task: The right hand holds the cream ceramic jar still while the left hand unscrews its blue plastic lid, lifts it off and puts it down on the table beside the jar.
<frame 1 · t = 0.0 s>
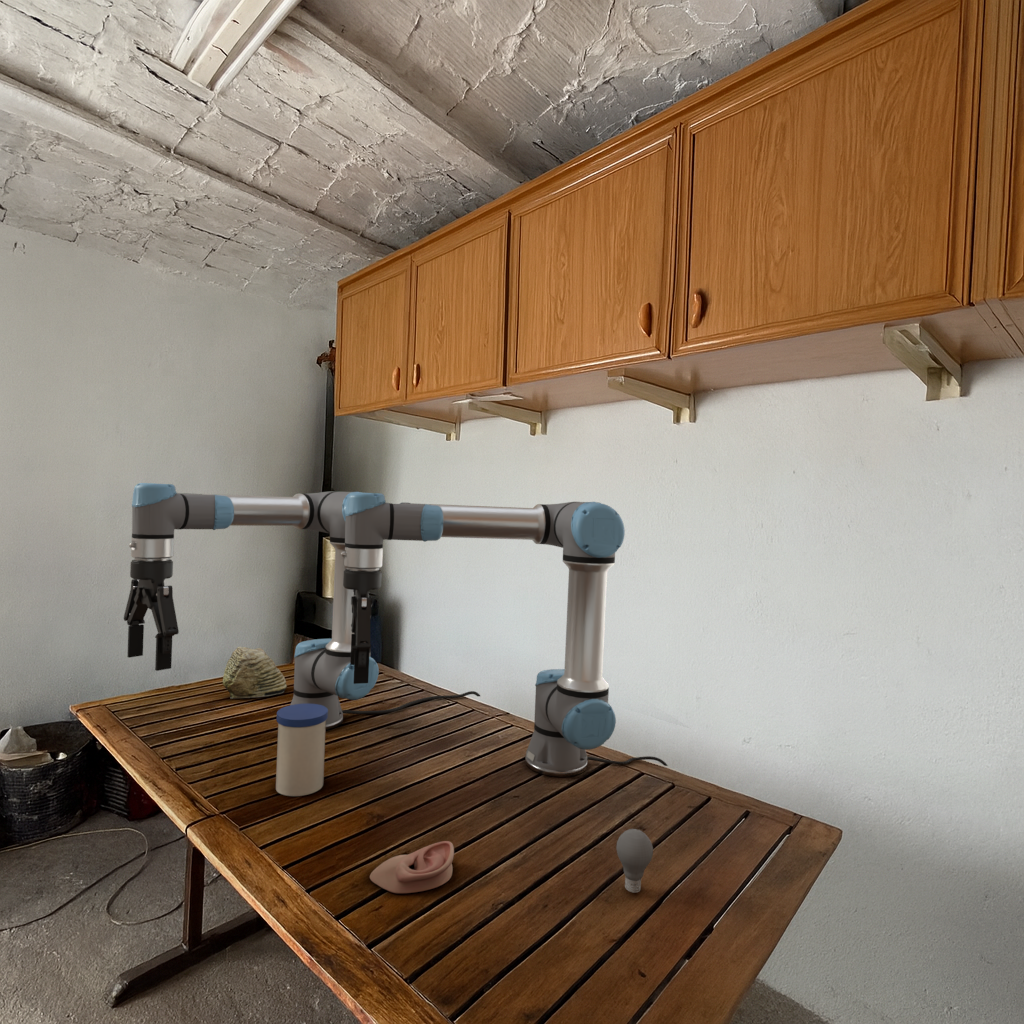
left hand: (148, 662, 129), 28 cm above the table, tool pointing down, fingers open, 13 cm apart
right hand: (358, 673, 128), 28 cm above the table, tool pointing down, fingers open, 13 cm apart
lid: (302, 712, 138), point 16 cm above the table, screwed on, not yet turned
light bulb: (632, 891, 106), on the table
fossil: (254, 694, 198), on the table
jar: (299, 785, 138), on the table
anatomical model: (412, 875, 107), on the table
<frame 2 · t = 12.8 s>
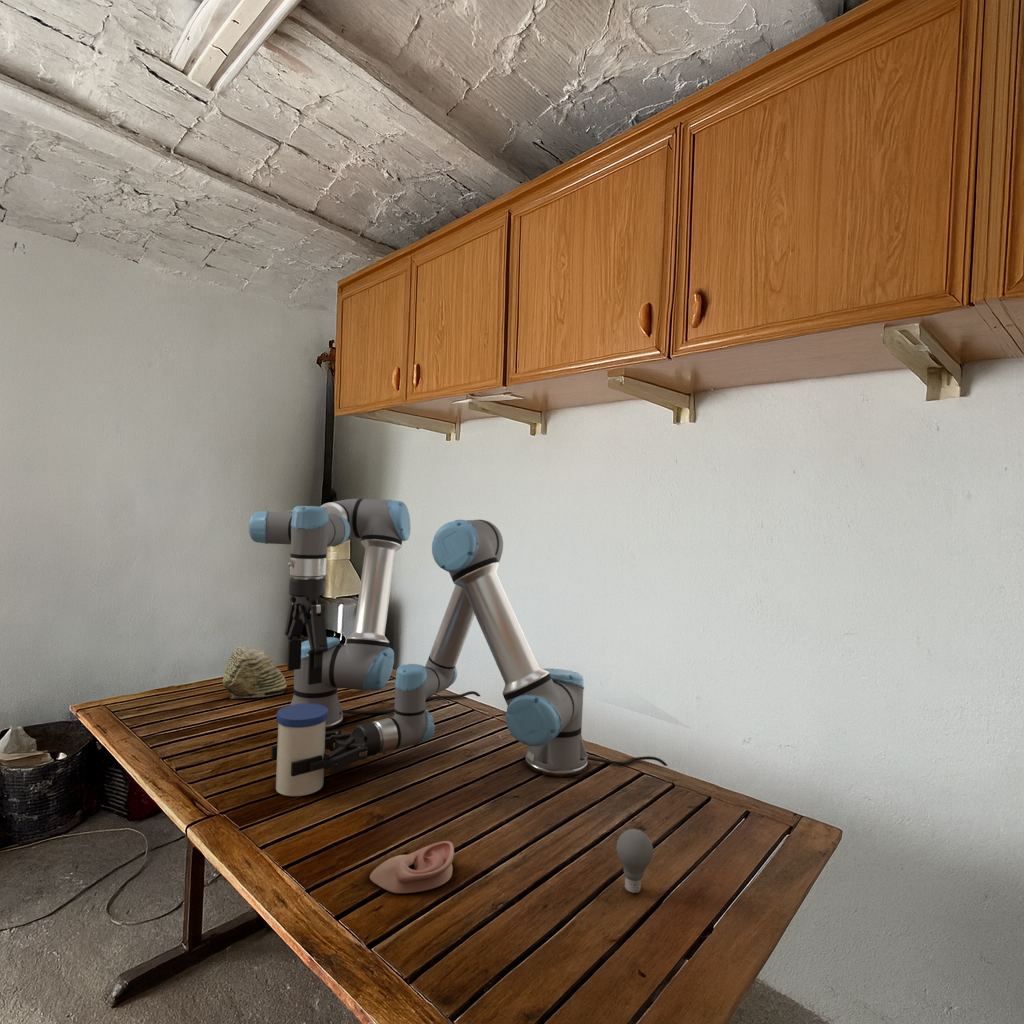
left hand: (304, 676, 138), 24 cm above the table, tool pointing down, fingers open, 12 cm apart
right hand: (281, 760, 135), 6 cm above the table, tool horizontal, fingers closed on jar, 10 cm apart
jar: (299, 785, 138), on the table, touching right hand
everything else where it was.
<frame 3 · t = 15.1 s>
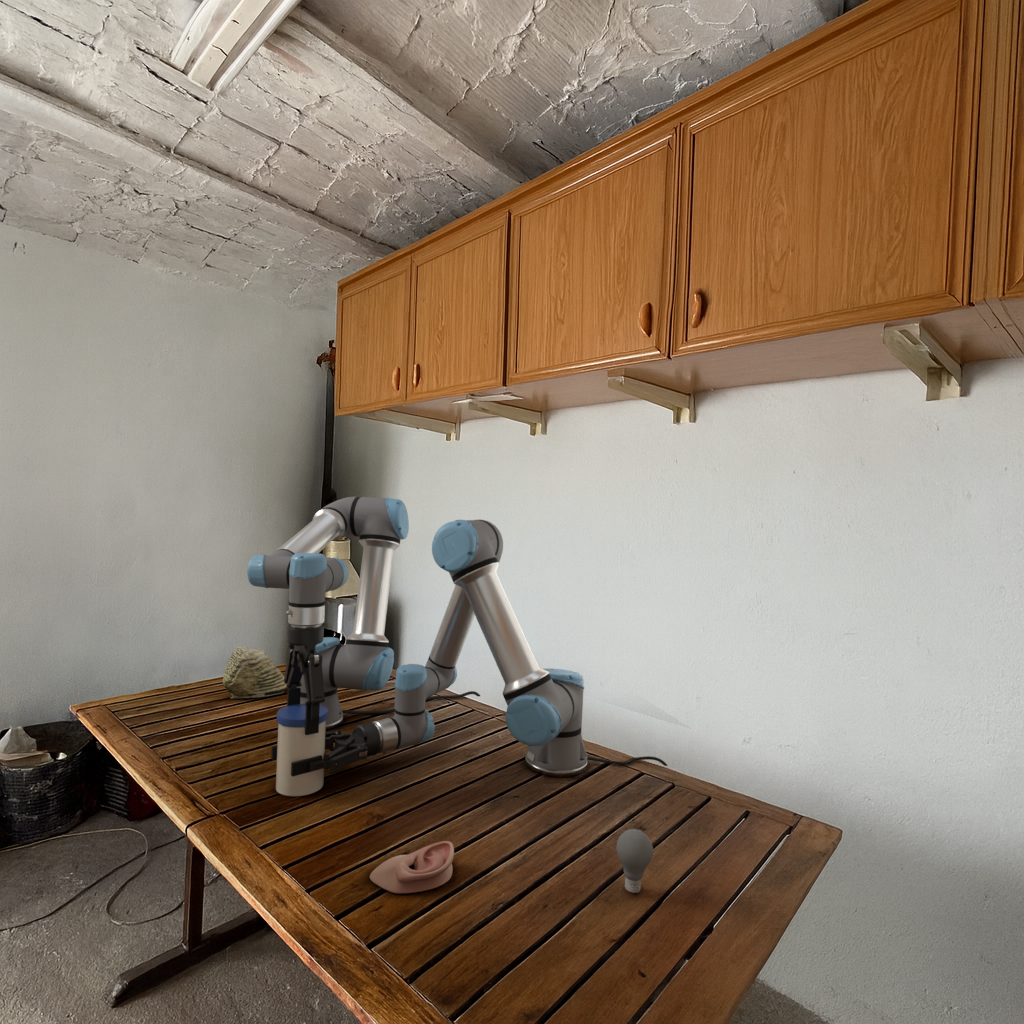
left hand: (302, 725, 138), 13 cm above the table, tool pointing down, fingers closed on lid, 11 cm apart
right hand: (281, 761, 135), 6 cm above the table, tool horizontal, fingers closed on jar, 10 cm apart
lid: (302, 712, 138), point 16 cm above the table, screwed on, not yet turned, touching left hand
jar: (299, 785, 138), on the table, touching right hand
everything else where it was.
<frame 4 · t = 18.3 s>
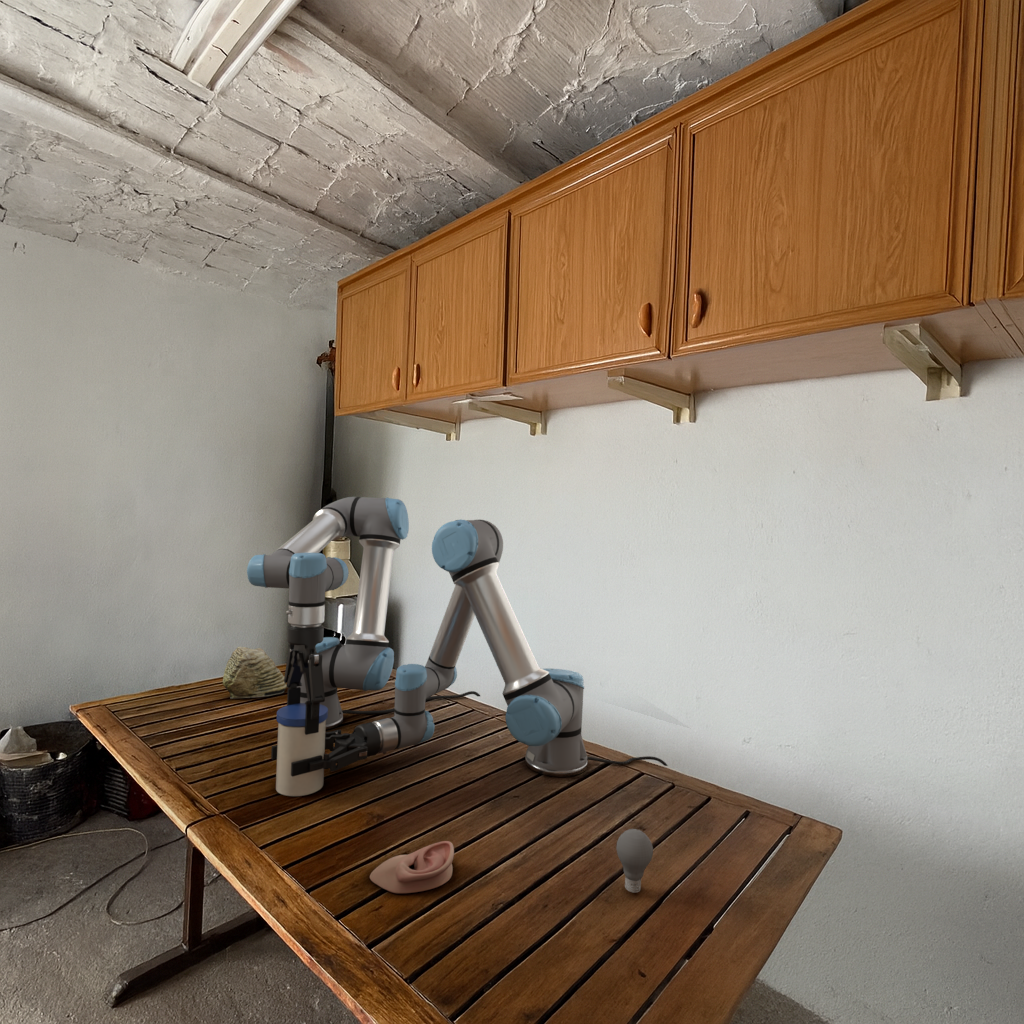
left hand: (302, 724, 138), 13 cm above the table, tool pointing down, fingers closed on lid, 11 cm apart
right hand: (281, 761, 135), 6 cm above the table, tool horizontal, fingers closed on jar, 10 cm apart
lid: (302, 712, 138), point 16 cm above the table, turned 93° so far, risen 0.1 cm, still on its thread, touching left hand
jar: (299, 785, 138), on the table, touching right hand
everything else where it was.
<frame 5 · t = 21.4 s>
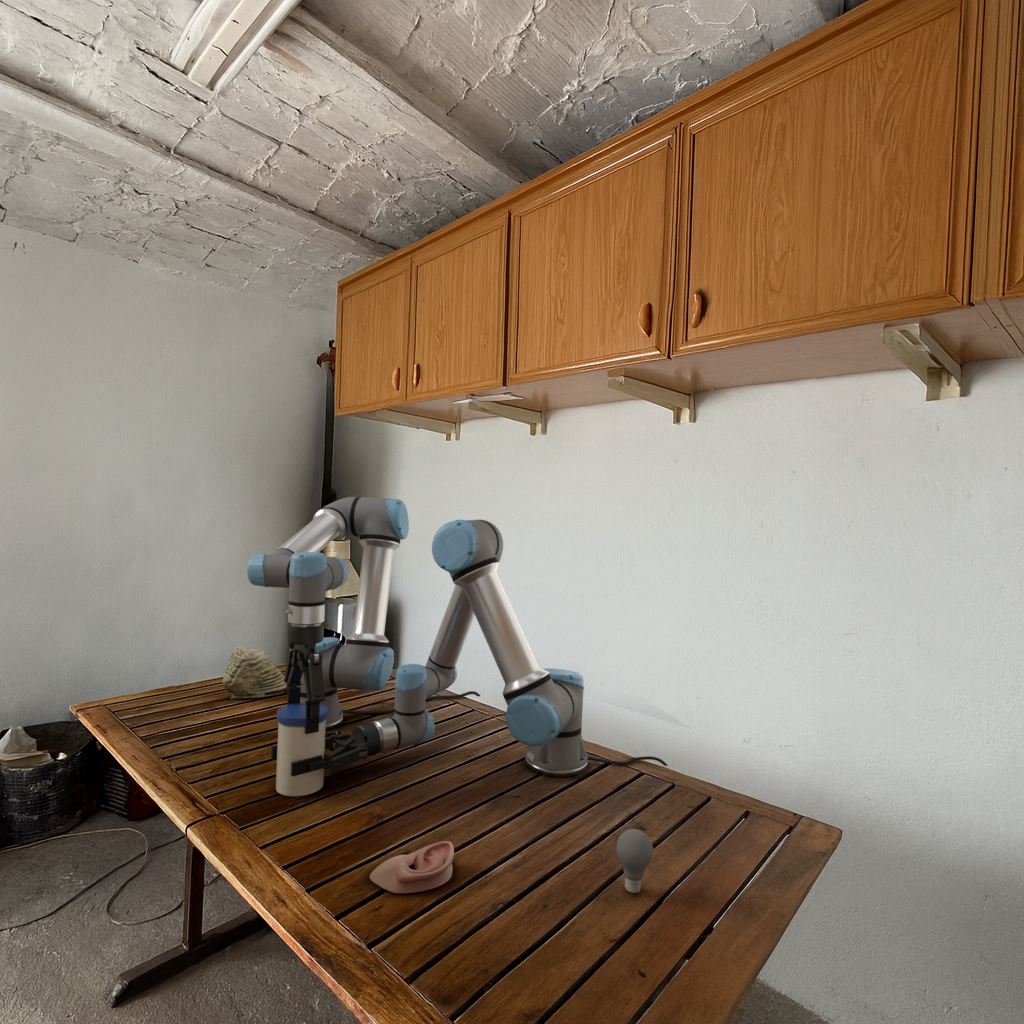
left hand: (302, 724, 138), 14 cm above the table, tool pointing down, fingers closed on lid, 11 cm apart
right hand: (281, 761, 135), 6 cm above the table, tool horizontal, fingers closed on jar, 10 cm apart
lid: (302, 711, 138), point 16 cm above the table, turned 187° so far, risen 0.2 cm, still on its thread, touching left hand
jar: (299, 785, 138), on the table, touching right hand
everything else where it was.
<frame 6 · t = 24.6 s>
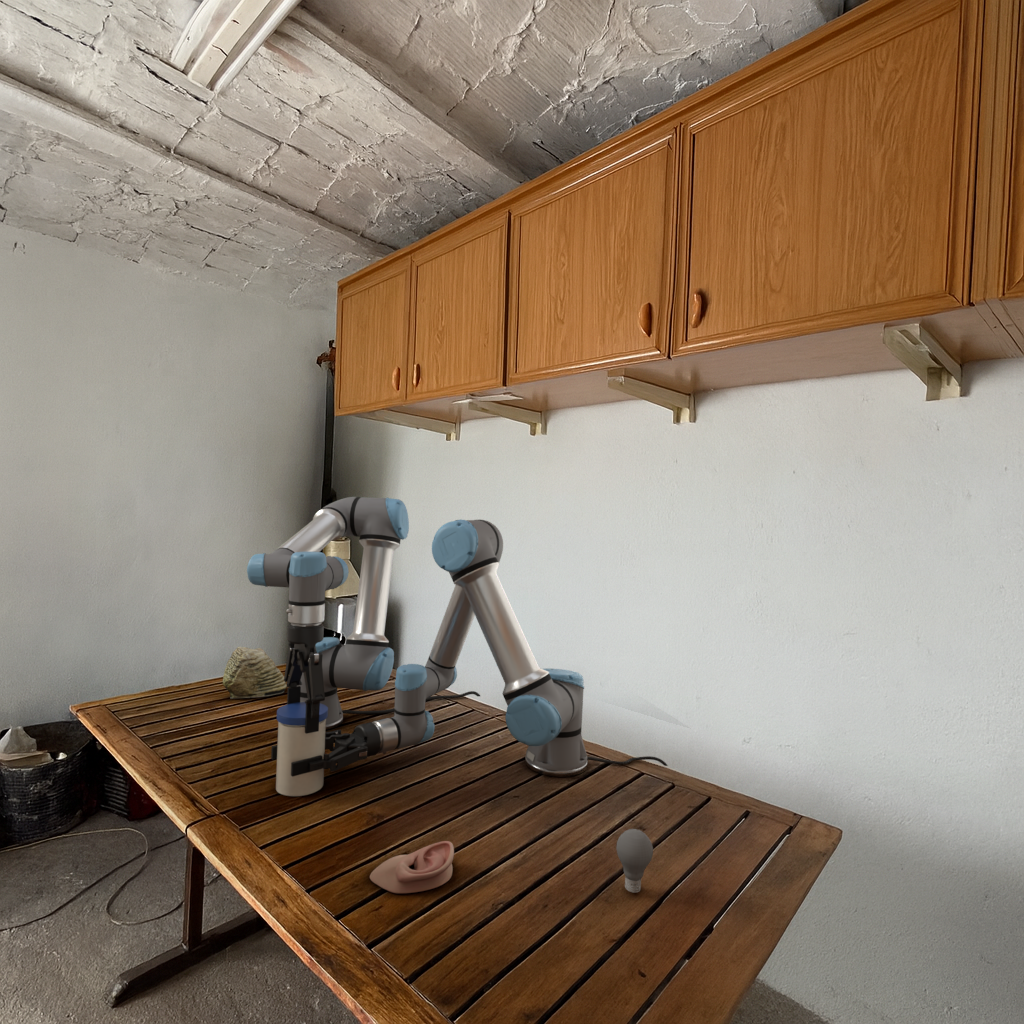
left hand: (302, 723, 138), 14 cm above the table, tool pointing down, fingers closed on lid, 11 cm apart
right hand: (281, 761, 135), 6 cm above the table, tool horizontal, fingers closed on jar, 10 cm apart
lid: (302, 711, 138), point 16 cm above the table, turned 280° so far, risen 0.4 cm, still on its thread, touching left hand
jar: (299, 785, 138), on the table, touching right hand
everything else where it was.
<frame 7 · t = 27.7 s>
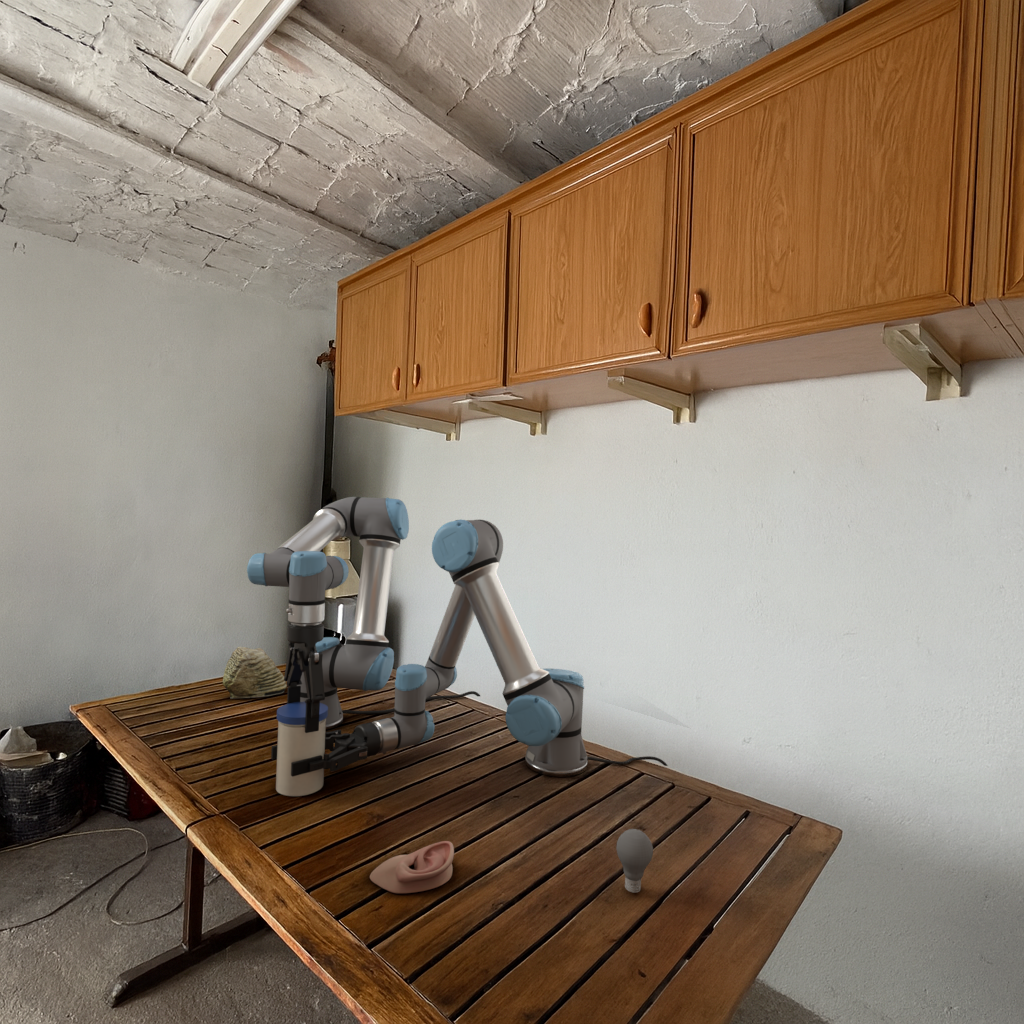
left hand: (302, 723, 138), 14 cm above the table, tool pointing down, fingers closed on lid, 11 cm apart
right hand: (281, 761, 135), 6 cm above the table, tool horizontal, fingers closed on jar, 10 cm apart
lid: (302, 710, 138), point 16 cm above the table, turned 373° so far, risen 0.5 cm, still on its thread, touching left hand
jar: (299, 785, 138), on the table, touching right hand
everything else where it was.
when the left hand's fingers open (0 cm above the table, at t = 37.2 s): lid drops 2 cm, point 1 cm above the table.
when the right hand's fingers open (6 cm above the table, at t = 38.3 s): jar stays where it is, on the table.
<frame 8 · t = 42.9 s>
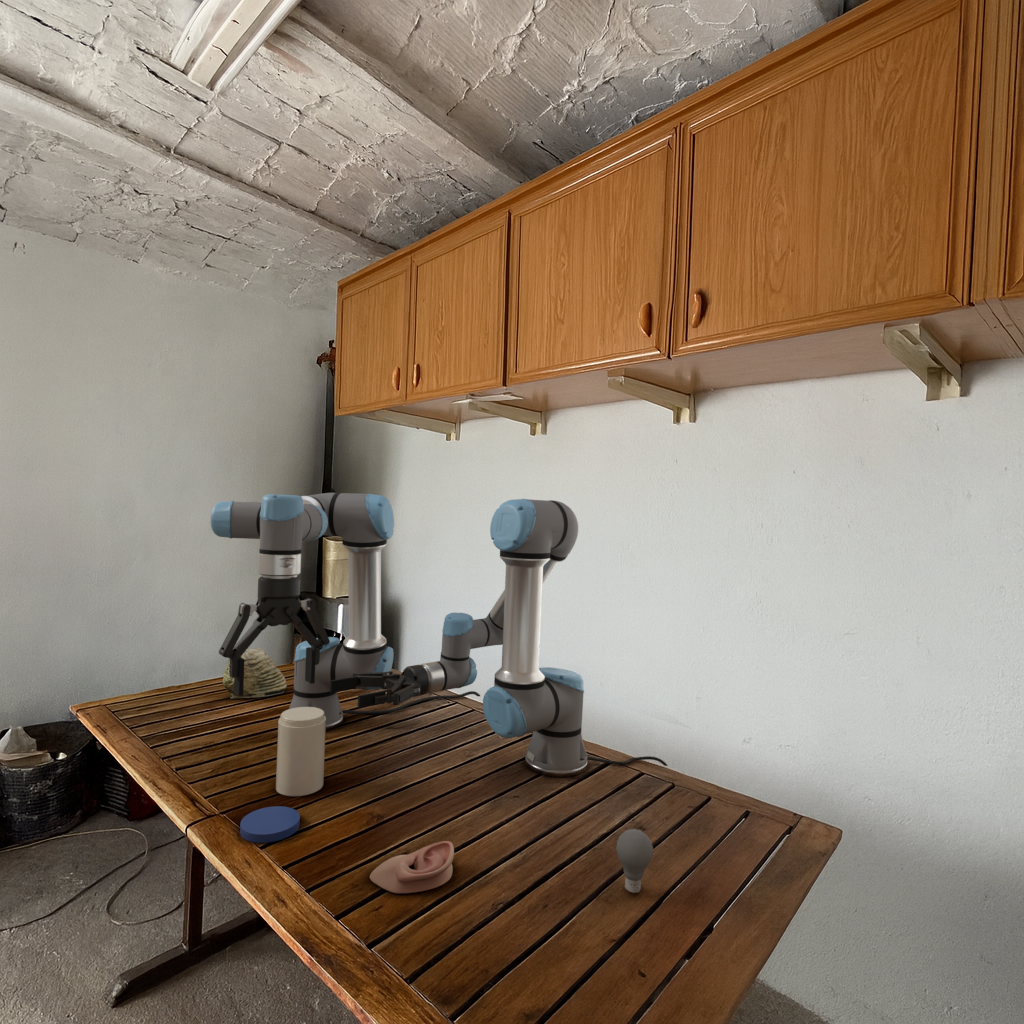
left hand: (275, 687, 120), 27 cm above the table, tool pointing down, fingers open, 13 cm apart
right hand: (343, 694, 145), 19 cm above the table, tool horizontal, fingers open, 13 cm apart
lid: (270, 821, 121), point 1 cm above the table, off its thread
jar: (299, 785, 138), on the table
everything else where it was.
at the end: lid came off its thread; lid point 1.2 cm above the table; the left hand is holding nothing; the right hand is holding nothing; jar tilted 0°; jar moved 0.0 cm from its start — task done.
